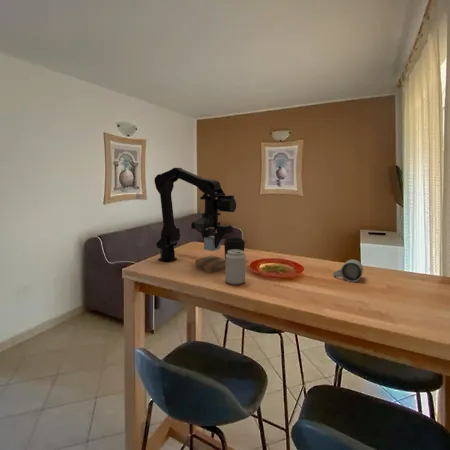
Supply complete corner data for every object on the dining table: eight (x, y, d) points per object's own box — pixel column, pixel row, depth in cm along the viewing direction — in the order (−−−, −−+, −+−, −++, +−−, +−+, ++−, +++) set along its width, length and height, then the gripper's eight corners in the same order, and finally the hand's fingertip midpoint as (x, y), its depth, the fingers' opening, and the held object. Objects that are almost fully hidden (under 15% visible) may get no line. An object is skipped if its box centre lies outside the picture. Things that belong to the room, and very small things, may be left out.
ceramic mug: (362, 277, 121) (363, 258, 120) (361, 283, 114) (362, 263, 113) (334, 273, 126) (335, 255, 125) (331, 279, 119) (332, 260, 118)
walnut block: (195, 268, 131) (195, 259, 131) (211, 263, 139) (211, 255, 138) (211, 274, 125) (211, 264, 124) (228, 268, 132) (228, 259, 131)
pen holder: (220, 261, 141) (220, 240, 139) (230, 257, 149) (231, 236, 147) (238, 264, 136) (238, 243, 134) (247, 260, 144) (248, 239, 142)
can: (243, 286, 111) (244, 254, 109) (223, 284, 112) (223, 253, 110) (246, 279, 118) (247, 249, 116) (227, 277, 119) (227, 248, 117)
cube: (212, 247, 134) (212, 235, 133) (220, 249, 131) (220, 237, 130) (203, 249, 130) (203, 237, 129) (212, 251, 127) (212, 239, 126)
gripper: (181, 210, 127) (182, 246, 129) (216, 214, 115) (215, 254, 118) (200, 208, 135) (200, 242, 138) (233, 211, 124) (233, 249, 127)
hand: (211, 246), depth 130 cm, fingers closed on cube, 5 cm apart
